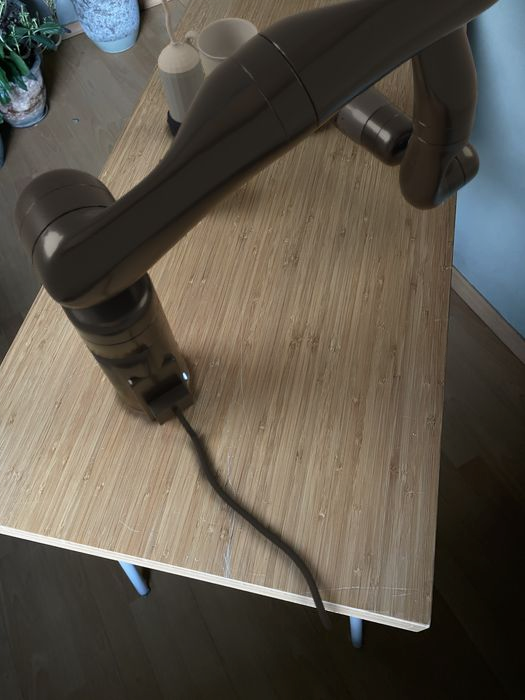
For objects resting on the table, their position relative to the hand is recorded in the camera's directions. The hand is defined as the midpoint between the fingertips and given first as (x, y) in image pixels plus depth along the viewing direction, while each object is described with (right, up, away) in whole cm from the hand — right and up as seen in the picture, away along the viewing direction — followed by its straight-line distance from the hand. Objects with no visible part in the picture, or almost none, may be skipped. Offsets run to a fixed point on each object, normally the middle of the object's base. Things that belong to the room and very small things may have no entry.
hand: (293, 60), depth 94 cm
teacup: (-12, +5, +15) cm, 20 cm away
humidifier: (-17, -7, +9) cm, 20 cm away
